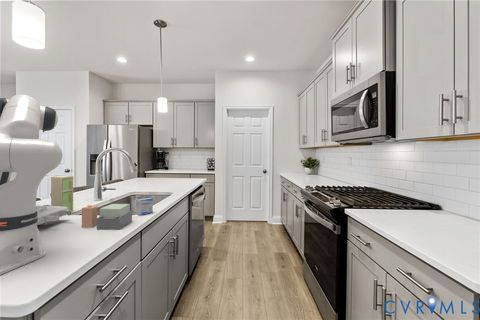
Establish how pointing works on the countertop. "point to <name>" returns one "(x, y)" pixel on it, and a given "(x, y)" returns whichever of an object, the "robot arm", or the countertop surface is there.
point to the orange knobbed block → (89, 216)
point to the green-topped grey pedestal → (114, 217)
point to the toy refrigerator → (62, 191)
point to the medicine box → (144, 206)
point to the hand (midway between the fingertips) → (65, 215)
